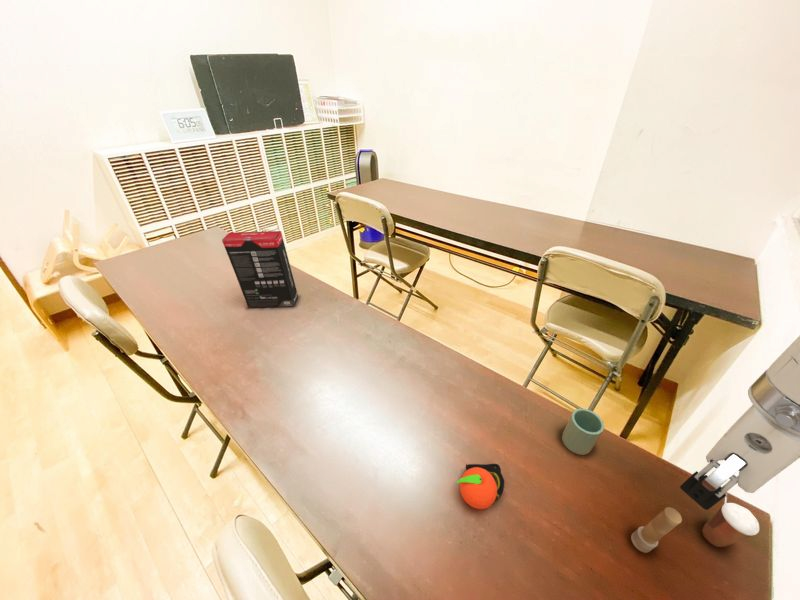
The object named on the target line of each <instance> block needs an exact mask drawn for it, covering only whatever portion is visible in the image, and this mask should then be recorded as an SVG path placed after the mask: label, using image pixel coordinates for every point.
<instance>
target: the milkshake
mask: <svg viewBox="0 0 800 600" xmlns="http://www.w3.org/2000/svg"><path fill="white" fill-rule="evenodd" d="M725 494H726V496H725V497H724V501H723V505H722V506H721V507H720V508H719V509H718V510H717V512H716V513H714V515H713V516H712V517H711V518H709V520H708V521H707V522H706V523H705V524H704V525H703V527H702V529H701V532H702V535H703V537H704V539H706V541H707V542H708V543H709V544H711V545H713V546H714V547H717V548H725V547H727V546H729V545H732V544H735V543H737V542H740V541H741V540H745V539H747V538H750V537H753V536H756V535H758V534H759V532H760V523H759V520H758V519H757V518H756V516H755V515H754V514H753V513H752V512H751V511H750V510H749V509H748V508H746V507H745V506H742V505H740V504H738V503H735V502H728V493H725Z"/></svg>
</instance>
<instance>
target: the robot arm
mask: <svg viewBox="0 0 800 600" xmlns="http://www.w3.org/2000/svg"><path fill="white" fill-rule="evenodd" d="M747 395H748V399H749V400H750V403H752V404H751V406H749V407H748V409H747V410H746V411H745V412H744V413H743V414H742V415H740V417H739V418H738V419H737V420H736V421H735V422H734V423H733V424H732V425H731V426H730V427H729V428H728V430H726V431H725V432H724V434H723V435H722V436H721V437H720V439H719V440H718V441H717V442H716V443H715V444H714V446H713V447H712V448H711V450H709V451H708V453H707V454H706V456H705V460H706V462H707V464H706V466H704V467H703V468H702V469H701V470H700V471H697V470H696V471H694V472H693V474H691V476H689V477H688V478H687V479H686V480H685V481H684V482H682V484H681V485H680V486H679V488H680V490H681V491H683V492H684V493H685V494H686V495H687V496H688V497H689V498H690V499H691V500H693V501H694V502H695V503H696V504H698V505H699V506H700V507H701V508H702V509H704V510H705V511H709V509H712V507H715V505H717V504H718V503H719V502H720V501H722V500H723V499H725V496H726V494H727V492H729V491H730V490H731V489H732V488H733V487H734V486H735V485H737V486H738V487H739V488H740V489H742V490H743V491H744V492H745V493H748V494H754V493H756V492H757V491H758V490H760V489H761V488H762V487H763V486H764V485H765V484H767V483H768V482H770V481H771V480H772V479H774V478H775V477H776V476H778V475H779V474H780V473H782V472H783V471H784V470H786V469H787V468H788V467H790V466H791V465H793V463H796V461H798V460H799V459H800V335H799V336H798V337H797V338H796V339H795V340H793V342H792V343H790V345H789V346H788V347H787V348H786V349H785V350H784V351H782V353H781V354H780V355H779V356H778V357H777V358H776V359H775V360H774V362H772V363H771V365H770V366H769V367H767V368H766V369H765V371H763V373H762V374H761V375H759V377H757V378H756V380H755V381H754V382H753V383H752V384H751V385H750V386H749V387H748V390H747ZM719 461H723V462H722V463H720V462H719ZM713 468H715V470H713ZM711 470H713V471H712V472H711V473H709V472H710V471H711ZM737 472H738V475H737V476H736V475H735V474H736V473H737ZM708 473H709V475H707V474H708ZM722 485H723V486H722Z"/></svg>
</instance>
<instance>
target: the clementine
mask: <svg viewBox="0 0 800 600" xmlns="http://www.w3.org/2000/svg"><path fill="white" fill-rule="evenodd" d="M456 484H459V490H460V494H461V496H462V499H463V500H464V502H465V503H466V504H467V505H468V506H470V507H472V508H474V509H476V510H477V509H478V510H485V509H487V508H490V507H491V506H492V505H493V504H494V503H495V502H496V501H495V499H496V496H497V485H496V482H495V480H494V478H493V476H492V475H491V474H490V473H489V472H488V471H486V470H485V469H483V468H479V467H474V468H471V469H468V470H467V471H466V470H465V471H464V472H463V474H462V476H461V477H460V479H458V480H457V481H456V482H455V483H454V485H456Z"/></svg>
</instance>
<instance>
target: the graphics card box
mask: <svg viewBox="0 0 800 600" xmlns="http://www.w3.org/2000/svg"><path fill="white" fill-rule="evenodd" d="M221 240H222V241H221V242H222V244H223V246H224V249H225V251H226V255H227V256H228V259H229V261H230V264H231V266H232V269H233V271H234V274H235V277H236V279H237V282H238V284H239V287H240V290H241V292H242V295H243V297H244V301H245V303H246V305H247V308H255V309H256V308H283V307H284V308H288V307H289V308H290V307H295V306H296V303H297V301H298V298H299V294H298V290H297V287H296V283H295V279H294V275H293V271H292V268H291V264H290V260H289V256H288V252H287V248H286V245H285V241H284V237H283V233H282V231H281V230H272V231H270V230H269V231H267V230H266V231H239V232H238V231H237V232H236V231H235V232H234V231H233V232H228V233H227V234H226V235H225V236H223V238H222V239H221Z"/></svg>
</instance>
